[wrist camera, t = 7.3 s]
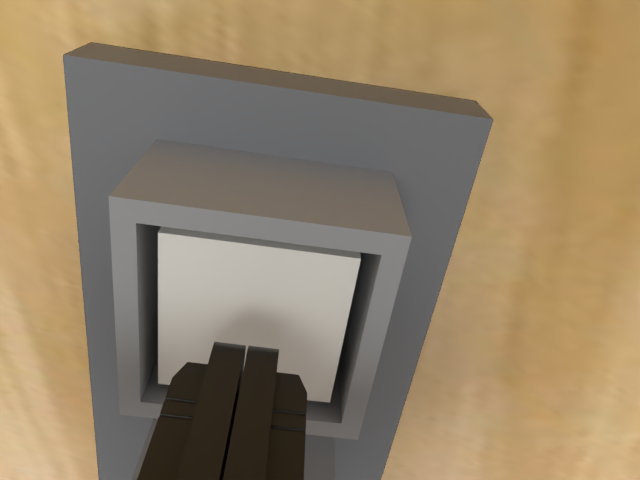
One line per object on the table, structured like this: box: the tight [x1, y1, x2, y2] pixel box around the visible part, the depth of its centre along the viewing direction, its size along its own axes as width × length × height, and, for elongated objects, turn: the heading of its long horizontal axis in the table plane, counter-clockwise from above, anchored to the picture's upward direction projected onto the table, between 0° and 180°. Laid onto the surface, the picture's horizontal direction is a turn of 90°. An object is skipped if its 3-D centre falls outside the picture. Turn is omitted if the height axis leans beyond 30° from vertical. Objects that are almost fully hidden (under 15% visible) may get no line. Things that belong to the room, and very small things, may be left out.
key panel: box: [63, 43, 493, 480], centre depth 19 cm, size 22×12×6 cm, turn 172°
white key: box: [158, 226, 361, 403], centre depth 15 cm, size 5×5×2 cm
